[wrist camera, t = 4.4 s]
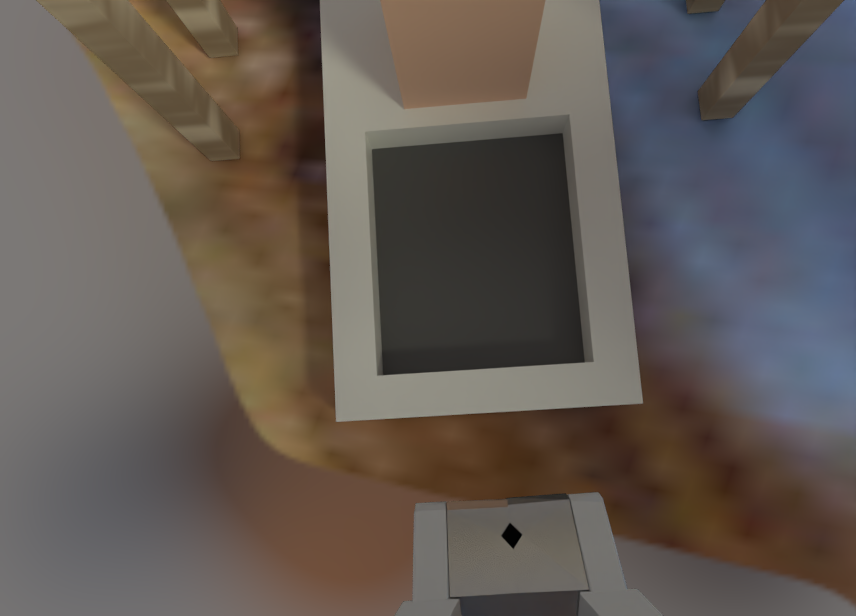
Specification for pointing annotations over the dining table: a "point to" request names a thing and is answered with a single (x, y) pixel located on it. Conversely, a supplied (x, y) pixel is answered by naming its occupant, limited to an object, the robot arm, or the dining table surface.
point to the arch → (218, 36)
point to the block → (462, 49)
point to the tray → (475, 232)
